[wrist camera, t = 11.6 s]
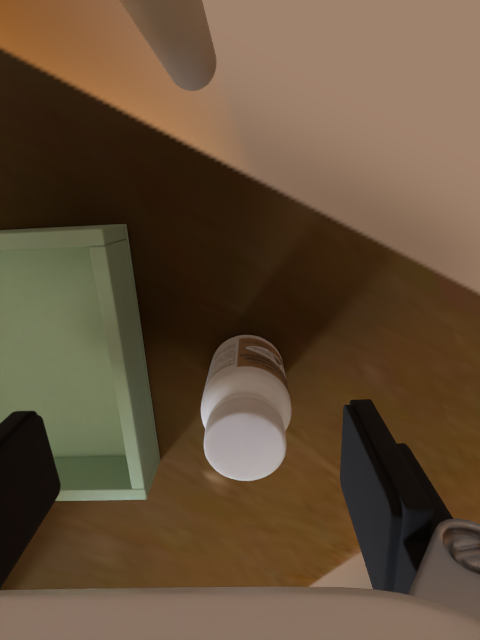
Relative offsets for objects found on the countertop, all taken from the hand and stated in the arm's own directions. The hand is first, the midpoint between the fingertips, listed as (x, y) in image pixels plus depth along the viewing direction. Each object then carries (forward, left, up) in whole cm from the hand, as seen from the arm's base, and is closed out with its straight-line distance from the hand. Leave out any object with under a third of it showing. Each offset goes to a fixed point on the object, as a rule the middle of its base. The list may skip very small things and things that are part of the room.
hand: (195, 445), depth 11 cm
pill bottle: (+3, +1, -11) cm, 11 cm away
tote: (+2, -12, -11) cm, 16 cm away
